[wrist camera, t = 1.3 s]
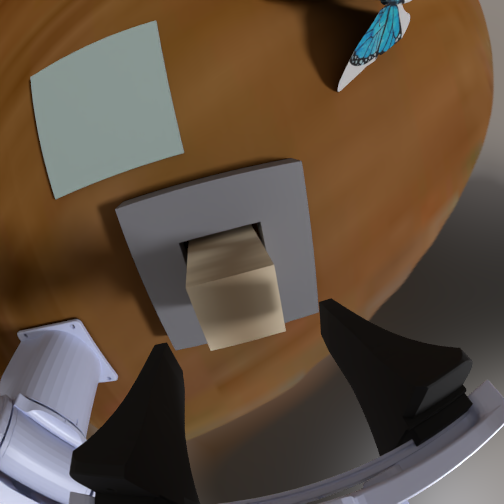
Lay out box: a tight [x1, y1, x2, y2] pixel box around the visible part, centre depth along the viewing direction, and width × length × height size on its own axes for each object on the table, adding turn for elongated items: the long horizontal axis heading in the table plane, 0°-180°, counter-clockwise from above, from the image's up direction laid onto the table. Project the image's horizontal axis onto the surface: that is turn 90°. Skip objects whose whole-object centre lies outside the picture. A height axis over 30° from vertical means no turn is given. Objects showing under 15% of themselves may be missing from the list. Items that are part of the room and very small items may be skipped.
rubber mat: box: [30, 21, 184, 199], centre depth 14 cm, size 10×10×1 cm
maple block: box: [186, 224, 286, 351], centre depth 17 cm, size 4×4×7 cm
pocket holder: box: [115, 158, 319, 350], centre depth 19 cm, size 12×12×2 cm
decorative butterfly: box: [338, 0, 412, 92], centre depth 12 cm, size 10×6×10 cm
